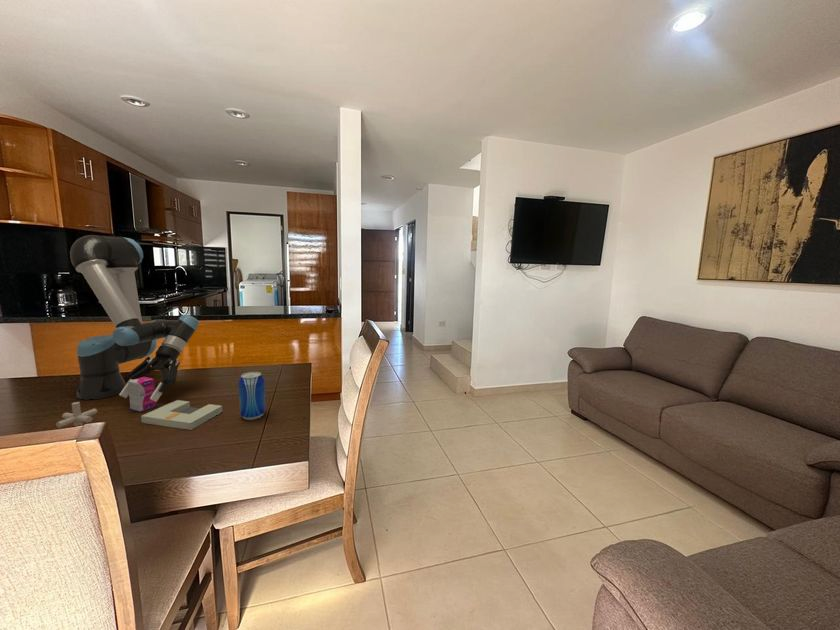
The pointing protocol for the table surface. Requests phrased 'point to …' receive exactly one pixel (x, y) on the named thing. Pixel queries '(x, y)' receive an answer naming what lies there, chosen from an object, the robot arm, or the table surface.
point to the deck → (181, 415)
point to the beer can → (251, 395)
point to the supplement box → (141, 394)
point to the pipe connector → (76, 416)
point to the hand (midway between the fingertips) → (137, 398)
